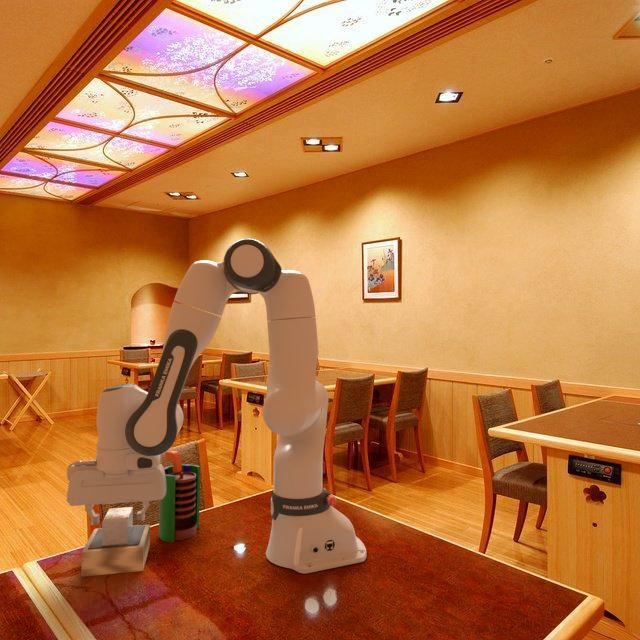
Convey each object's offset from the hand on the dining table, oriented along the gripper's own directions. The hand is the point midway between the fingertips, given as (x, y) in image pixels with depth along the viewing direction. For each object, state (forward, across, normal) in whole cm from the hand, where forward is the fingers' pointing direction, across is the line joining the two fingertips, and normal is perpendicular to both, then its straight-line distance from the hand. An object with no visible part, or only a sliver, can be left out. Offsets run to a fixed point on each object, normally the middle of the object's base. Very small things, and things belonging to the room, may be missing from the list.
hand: (118, 521), depth 111 cm
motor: (+9, +12, +12) cm, 19 cm away
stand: (+8, 0, 0) cm, 8 cm away
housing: (+3, 0, -1) cm, 3 cm away
